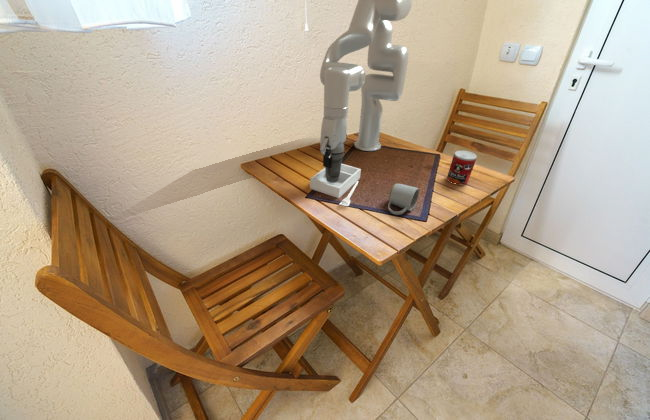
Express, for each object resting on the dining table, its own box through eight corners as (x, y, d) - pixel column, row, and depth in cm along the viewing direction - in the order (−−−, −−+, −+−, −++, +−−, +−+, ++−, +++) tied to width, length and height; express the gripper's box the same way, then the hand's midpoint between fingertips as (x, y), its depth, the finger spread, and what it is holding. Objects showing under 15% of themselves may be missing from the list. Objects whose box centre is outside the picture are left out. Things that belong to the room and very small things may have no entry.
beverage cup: (340, 185, 100) (344, 130, 88) (320, 183, 101) (321, 128, 90) (343, 176, 106) (347, 122, 94) (324, 173, 107) (326, 120, 95)
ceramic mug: (394, 196, 101) (398, 177, 96) (416, 204, 97) (421, 184, 92) (381, 211, 94) (384, 191, 89) (405, 220, 90) (409, 199, 85)
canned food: (443, 180, 111) (451, 154, 104) (451, 173, 116) (459, 148, 109) (462, 188, 107) (472, 161, 100) (470, 180, 112) (480, 154, 105)
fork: (362, 183, 109) (362, 179, 108) (346, 210, 93) (346, 206, 92) (353, 182, 110) (354, 177, 109) (337, 208, 94) (337, 204, 93)
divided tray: (333, 170, 116) (333, 161, 113) (359, 178, 111) (361, 169, 108) (309, 188, 104) (309, 178, 101) (338, 198, 99) (339, 188, 96)
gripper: (338, 103, 97) (336, 151, 107) (310, 116, 85) (310, 169, 95) (358, 106, 94) (353, 156, 104) (332, 121, 82) (329, 175, 92)
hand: (333, 162), depth 100 cm, fingers closed on beverage cup, 7 cm apart
